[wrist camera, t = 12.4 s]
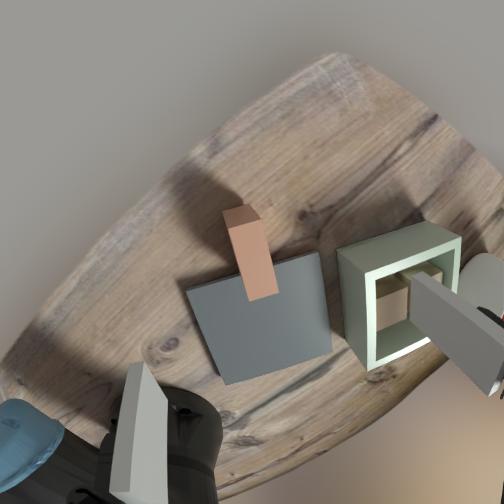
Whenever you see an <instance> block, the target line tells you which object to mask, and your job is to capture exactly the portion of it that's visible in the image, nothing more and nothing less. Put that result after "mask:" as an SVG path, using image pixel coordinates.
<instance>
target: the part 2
mask: <svg viewBox="0 0 504 504" xmlns="http://www.w3.org/2000/svg"><path fill="white" fill-rule="evenodd" d="M422 271H423V272H425V273H426V274H428V275H429V276H431V277H432V278H434V279H435V280H437V281H438V282H440V283H441V284H442V277H443V271H441V270H440V269H438V268H437V267H435V266H434V265H432V264H430V263H429V262H427V261H423V262H421V263H418V264H416V265H413V266H411V267H408V268H406V269H403V270H401V271H398V272H395V277H396V278H397V279H398V280H400V281H401V282H402V283H403V284H405V285H406V286H407V287H408V294H407V310H408V311H409V312H410V301H411V276H412V275H415V274H417V273H419V272H422Z"/></svg>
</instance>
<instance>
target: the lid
mask: <svg viewBox="0 0 504 504" xmlns="http://www.w3.org/2000/svg"><path fill="white" fill-rule="evenodd" d="M222 213H223V217H224V220H225V224H226V227H227V231H228V234H229V238H230V241H231V245H232V248H233V252H234V255H235V259H236V262H237V266H238V269H239V272H240V273H238V274H234V275H231V276H227V277H224V278H221V279H217V280H214V281H210V282H207V283H204V284H200V285H197V286H193V287H190V288H186V293H187V296H188V299H189V301H190V304H191V306H192V309H193V311H194V314H195V316H196V319H197V321H198V323H199V326H200V328H201V331H202V333H203V335H204V338H205V340H206V343H207V345H208V347H209V350H210V352H211V354H212V356H213V359H214V361H215V363H216V366H217V368H218V370H219V372H220V375H221V377H222V379H223V381H224V383H225V385H230V384H233V383H237V382H241V381H244V380H248V379H251V378H255V377H258V376H262V375H265V374H268V373H271V372H275V371H278V370H281V369H284V368H287V367H290V366H293V365H296V364H299V363H302V362H305V361H308V360H311V359H314V358H317V357H319V356H322V355H325V354H328V353H330V352H333V350H332V341H331V333H330V324H329V317H328V309H327V302H326V294H325V288H324V281H323V274H322V268H321V261H320V255H319V251H318V250H314V251H310V252H307V253H304V254H301V255H297V256H294V257H291V258H288V259H284V260H281V261H278V262H274V263H272V260H271V256H270V252H269V248H268V243H267V239H266V235H265V231H264V227H263V223H262V219H261V218H260V217H259V215H258V214H257V213H256V212H255V210H254V209H253V208H252V207H251V206H250V204H246V205H243V206H239V207H236V208H232V209H229V210H225V211H222Z"/></svg>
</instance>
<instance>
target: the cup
mask: <svg viewBox="0 0 504 504" xmlns="http://www.w3.org/2000/svg"><path fill="white" fill-rule="evenodd" d="M457 295H458V296H460V297H461V298H463V299H464V300H465V301H467V302H468V303H470V304H471V305H472V306H474V307H475V308H477V307H479V306H480V307H483V308H486V309H489V310H490V311H492V312H493V313H494V314H496V315H497V317H498V316H499V317H500V318H501V319H503V321H504V261H503V260H501V259H499V258H497V257H495V256H493V255H492V254H489V253H480V254H478V255H476V256H474V257H473V258H472V259H471V260H470V261H469V262H468V263H467V264H466V265H465V266H464V268H463V269H462V271H461V273H460V275H459V278H458V287H457Z"/></svg>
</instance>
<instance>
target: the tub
mask: <svg viewBox="0 0 504 504" xmlns="http://www.w3.org/2000/svg"><path fill="white" fill-rule="evenodd" d="M336 253H337V261H338V269H339V278H340V287H341V297H342V307H343V318H344V331H345V340H346V342H347V343H348V345H349V346H350V347H351V349H352V350H353V352H354V353H355V355H356V356H357V357H358V359H359V360H360V362H361V363H362V365H363V366H364V367H365V369H366V370H367V371H369V370H372V369H374V368H376V367H378V366H381V365H383V364H385V363H387V362H389V361H392V360H394V359H396V358H398V357H400V356H402V355H404V354H406V353H408V352H410V351H412V350H414V349H416V348H418V347H420V346H422V345H424V344H426V343H428V342H430V341H431V340H430V339H429V338H428V337H427V336H426V335H425V334H424V333H423V332H421V331H420V330H419V329H418V328H417V327H416V326H415V325H414V324H413V323H412V322H411V321H410V320H409V319H410V312H409V311H408V310H407V315H406V319H404V320H402V321H400V322H398V323H395V324H393V325H391V326H389V327H386V328H384V329H382V330H379V331H377V332H376V286H375V280H377V279H379V278H382V277H385V276H387V275H390V274H392V275H393V276H395V272H398V271H401V270H403V269H406V268H408V267H411V266H413V265H416V264H418V263H421V262H423V261H427V262H429V263H430V264H432V265H434V266H435V267H437V268H438V269H440V270H441V271H443V277H442V285H444V286H445V287H447V288H448V289H450V290H451V291H453V292H454V293H455V294H457V287H458V278H459V268H460V255H461V236H459V235H457V234H455V233H453V232H451V231H449V230H446V229H444V228H442V227H440V226H438V225H436V224H433V223H431V222H429V221H427V220H426V221H423V222H420V223H416V224H413V225H410V226H407V227H404V228H401V229H398V230H395V231H392V232H389V233H385V234H382V235H379V236H376V237H373V238H370V239H366V240H363V241H360V242H357V243H354V244H350V245H347V246H344V247H341V248H338V249H336Z"/></svg>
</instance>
